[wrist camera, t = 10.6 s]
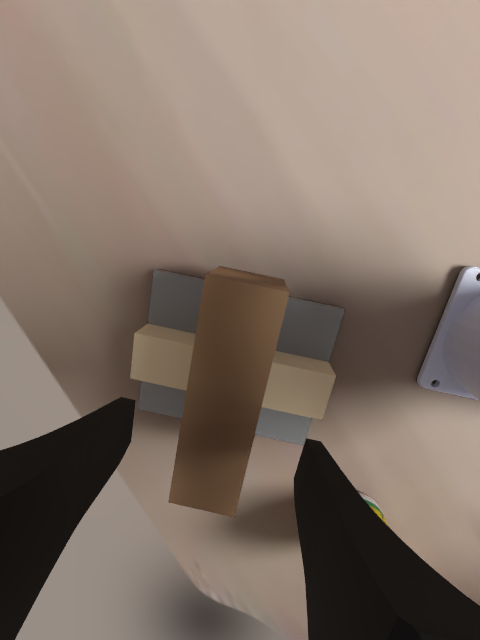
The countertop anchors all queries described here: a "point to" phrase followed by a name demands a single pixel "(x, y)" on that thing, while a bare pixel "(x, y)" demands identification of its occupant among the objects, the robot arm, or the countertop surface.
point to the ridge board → (292, 337)
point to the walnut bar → (226, 386)
